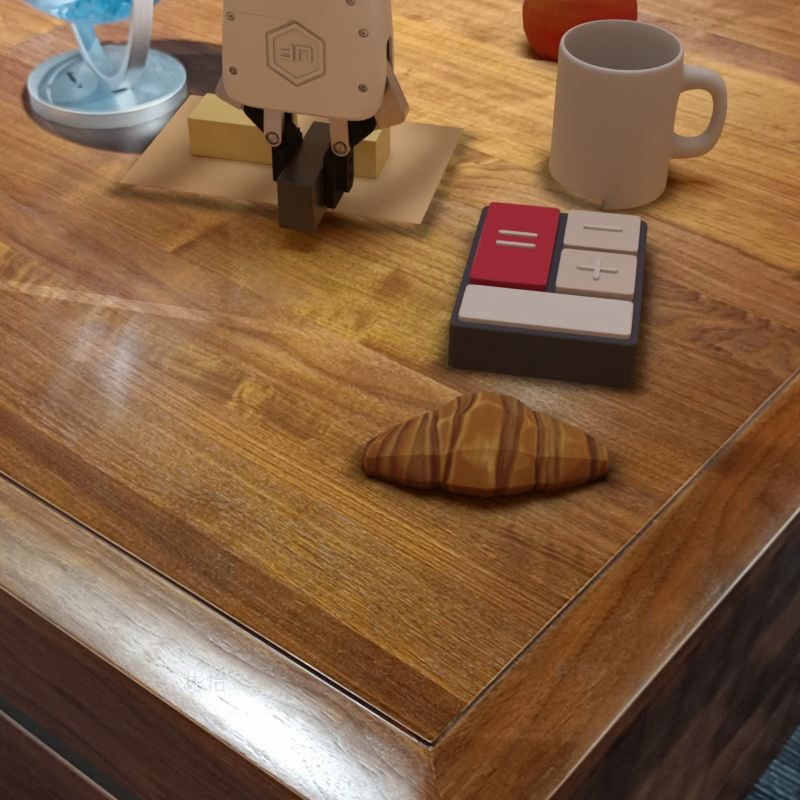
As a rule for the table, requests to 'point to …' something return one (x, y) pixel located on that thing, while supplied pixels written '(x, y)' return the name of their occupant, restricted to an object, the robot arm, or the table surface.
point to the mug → (625, 111)
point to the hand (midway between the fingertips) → (313, 192)
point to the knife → (304, 182)
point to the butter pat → (372, 153)
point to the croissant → (486, 450)
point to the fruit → (567, 20)
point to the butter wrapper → (182, 171)
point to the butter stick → (226, 133)
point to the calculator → (551, 295)
